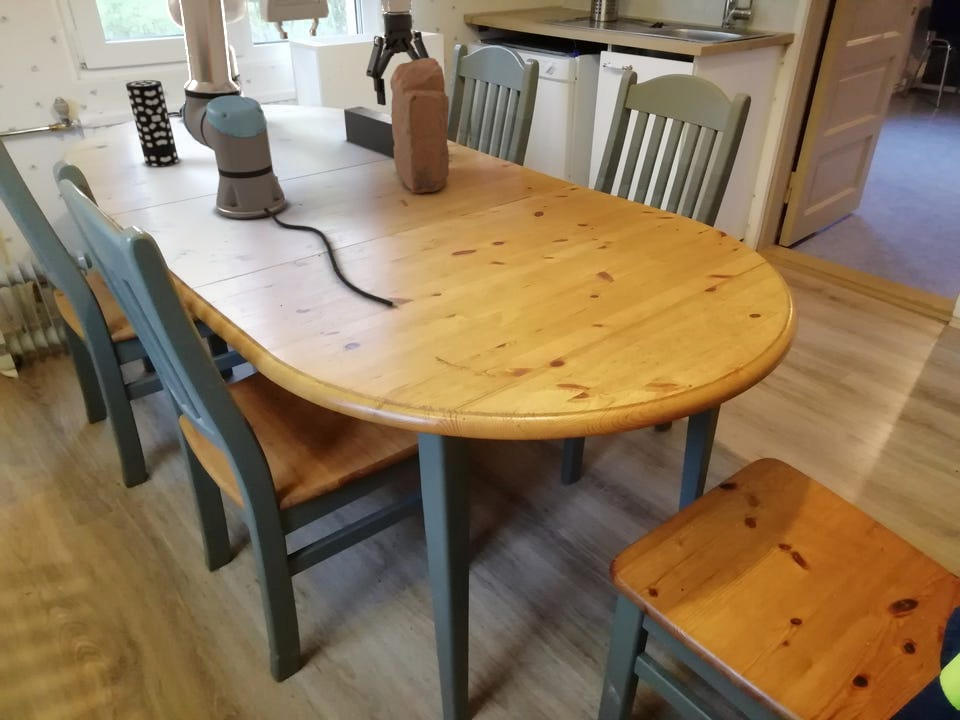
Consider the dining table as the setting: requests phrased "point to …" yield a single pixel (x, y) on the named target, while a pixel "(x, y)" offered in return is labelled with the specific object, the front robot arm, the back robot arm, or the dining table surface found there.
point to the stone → (420, 124)
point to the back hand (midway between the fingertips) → (298, 37)
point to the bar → (370, 129)
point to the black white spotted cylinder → (152, 122)
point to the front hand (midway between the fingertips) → (401, 100)
